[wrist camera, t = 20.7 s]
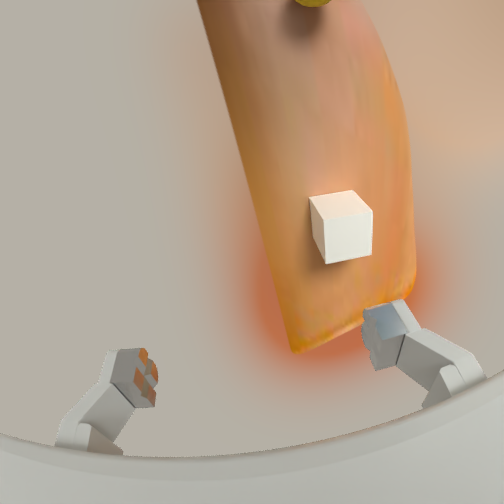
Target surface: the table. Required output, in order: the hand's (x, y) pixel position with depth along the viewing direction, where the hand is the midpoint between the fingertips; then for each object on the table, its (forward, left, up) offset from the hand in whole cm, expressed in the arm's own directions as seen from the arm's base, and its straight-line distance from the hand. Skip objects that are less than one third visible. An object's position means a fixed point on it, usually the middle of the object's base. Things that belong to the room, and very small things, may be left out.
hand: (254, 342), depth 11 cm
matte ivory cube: (+14, +13, -34) cm, 39 cm away
